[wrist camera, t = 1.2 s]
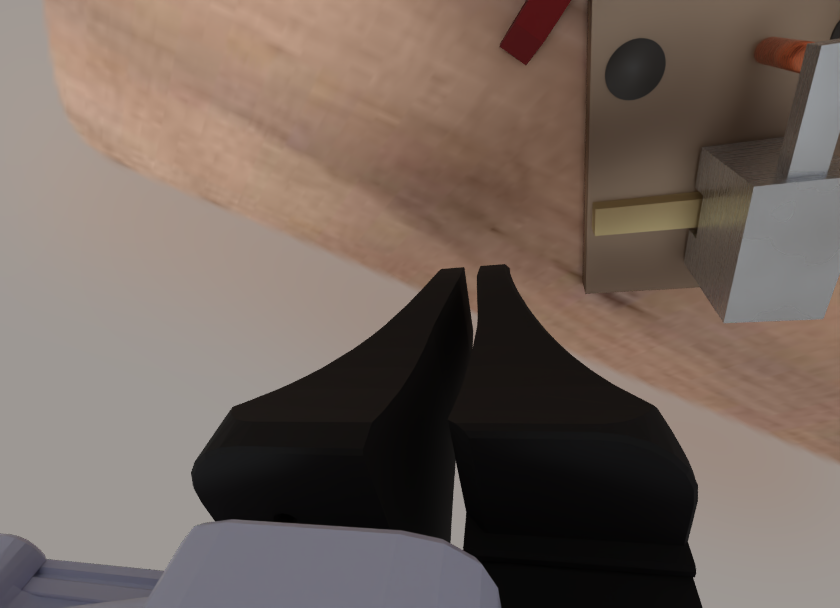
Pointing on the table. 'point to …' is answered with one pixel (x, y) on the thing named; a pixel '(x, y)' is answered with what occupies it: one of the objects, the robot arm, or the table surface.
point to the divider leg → (775, 202)
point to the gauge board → (675, 120)
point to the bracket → (532, 27)
